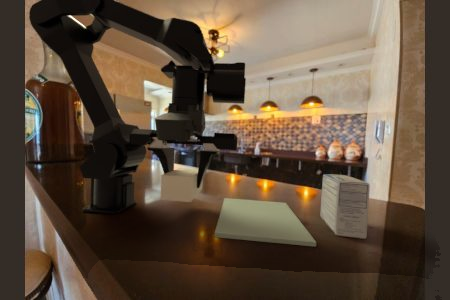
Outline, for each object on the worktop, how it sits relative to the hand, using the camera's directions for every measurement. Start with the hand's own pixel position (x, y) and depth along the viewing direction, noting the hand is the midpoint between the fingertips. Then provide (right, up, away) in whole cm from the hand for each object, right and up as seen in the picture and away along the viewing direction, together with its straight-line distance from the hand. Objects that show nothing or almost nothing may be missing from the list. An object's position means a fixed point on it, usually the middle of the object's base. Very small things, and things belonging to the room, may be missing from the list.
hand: (184, 186), depth 34 cm
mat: (+14, -6, 0) cm, 15 cm away
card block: (0, -1, 0) cm, 1 cm away
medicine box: (+28, -7, -2) cm, 28 cm away
